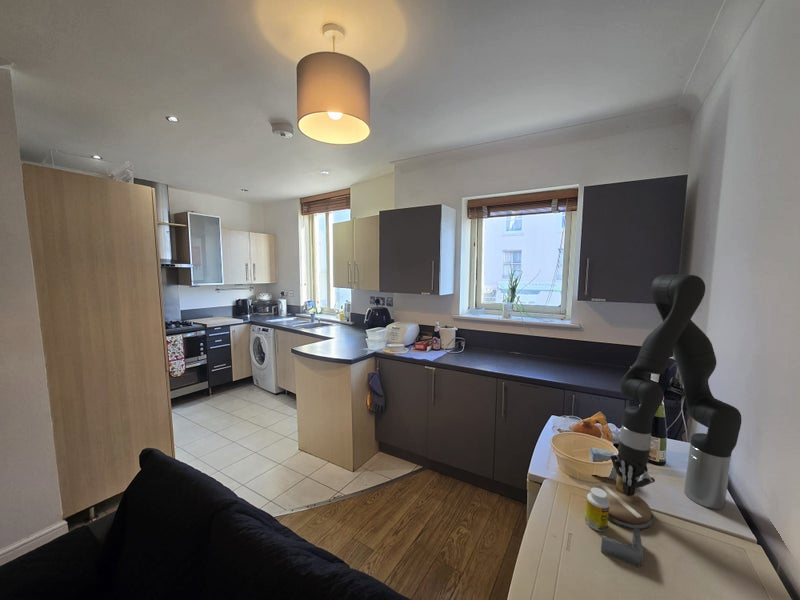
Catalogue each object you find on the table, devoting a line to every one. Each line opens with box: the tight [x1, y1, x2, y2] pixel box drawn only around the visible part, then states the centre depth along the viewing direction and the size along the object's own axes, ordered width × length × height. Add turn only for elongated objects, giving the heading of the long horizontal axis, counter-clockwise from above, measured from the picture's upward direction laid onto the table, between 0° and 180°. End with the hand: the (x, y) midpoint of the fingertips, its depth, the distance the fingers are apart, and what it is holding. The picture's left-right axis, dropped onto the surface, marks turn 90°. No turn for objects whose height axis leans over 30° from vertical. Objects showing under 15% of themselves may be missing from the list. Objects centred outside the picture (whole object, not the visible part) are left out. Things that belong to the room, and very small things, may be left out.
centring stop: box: [600, 528, 644, 568], centre depth 82 cm, size 12×6×4 cm, turn 104°
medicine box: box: [588, 446, 617, 481], centre depth 112 cm, size 8×4×9 cm, turn 71°
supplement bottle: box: [584, 487, 610, 532], centre depth 91 cm, size 6×6×10 cm
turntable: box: [592, 474, 652, 525], centre depth 97 cm, size 15×15×6 cm
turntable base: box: [589, 491, 654, 531], centre depth 98 cm, size 16×16×1 cm
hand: (628, 494), depth 98 cm, fingers closed
